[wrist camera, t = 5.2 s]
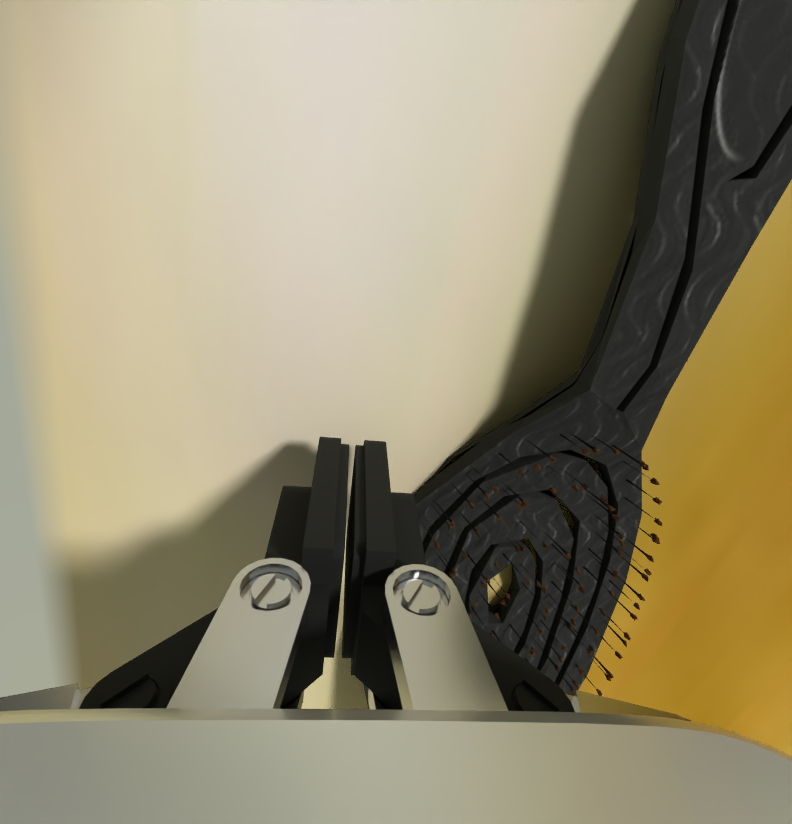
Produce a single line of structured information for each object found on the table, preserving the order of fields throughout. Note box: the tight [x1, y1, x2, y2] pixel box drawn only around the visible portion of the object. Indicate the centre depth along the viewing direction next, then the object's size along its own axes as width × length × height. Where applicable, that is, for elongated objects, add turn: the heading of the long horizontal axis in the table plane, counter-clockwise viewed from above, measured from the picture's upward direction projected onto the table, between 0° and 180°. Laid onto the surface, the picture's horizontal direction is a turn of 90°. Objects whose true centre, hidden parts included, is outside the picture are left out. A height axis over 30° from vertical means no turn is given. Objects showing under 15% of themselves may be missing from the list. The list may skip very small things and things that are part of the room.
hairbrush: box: [364, 0, 792, 709], centre depth 12 cm, size 8×4×25 cm
